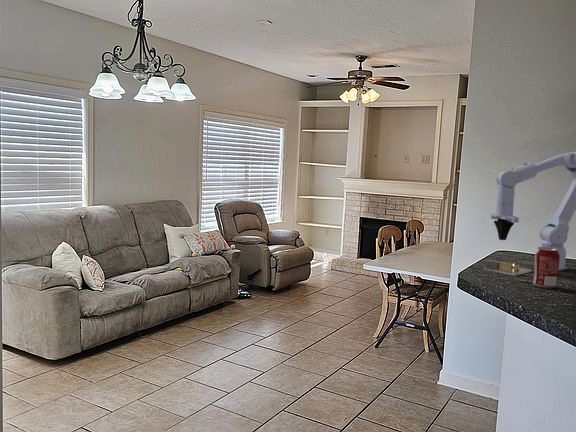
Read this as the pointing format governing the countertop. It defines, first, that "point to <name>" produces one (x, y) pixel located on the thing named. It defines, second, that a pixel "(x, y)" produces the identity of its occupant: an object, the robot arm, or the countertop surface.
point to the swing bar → (507, 266)
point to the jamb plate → (521, 271)
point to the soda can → (546, 267)
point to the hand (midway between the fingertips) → (502, 239)
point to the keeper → (493, 266)
